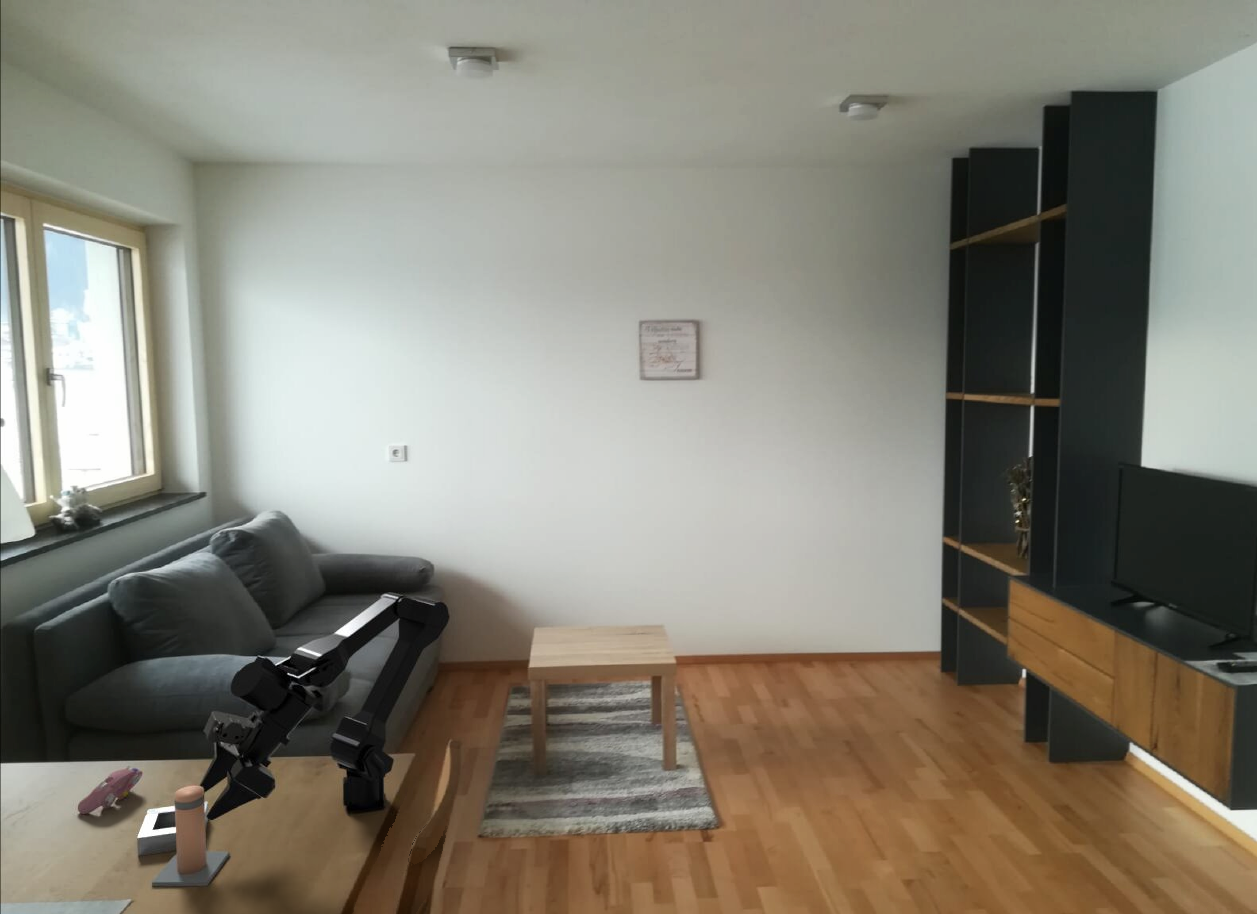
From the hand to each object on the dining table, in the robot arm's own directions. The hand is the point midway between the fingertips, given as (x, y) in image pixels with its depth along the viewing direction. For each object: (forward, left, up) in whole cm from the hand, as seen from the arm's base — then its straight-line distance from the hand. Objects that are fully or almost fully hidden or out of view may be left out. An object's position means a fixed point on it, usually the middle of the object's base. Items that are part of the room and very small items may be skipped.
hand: (204, 804), depth 132 cm
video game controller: (+18, -25, -10) cm, 33 cm away
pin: (+2, +1, -9) cm, 9 cm away
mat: (+2, +1, -10) cm, 10 cm away
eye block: (+6, -10, -10) cm, 15 cm away
